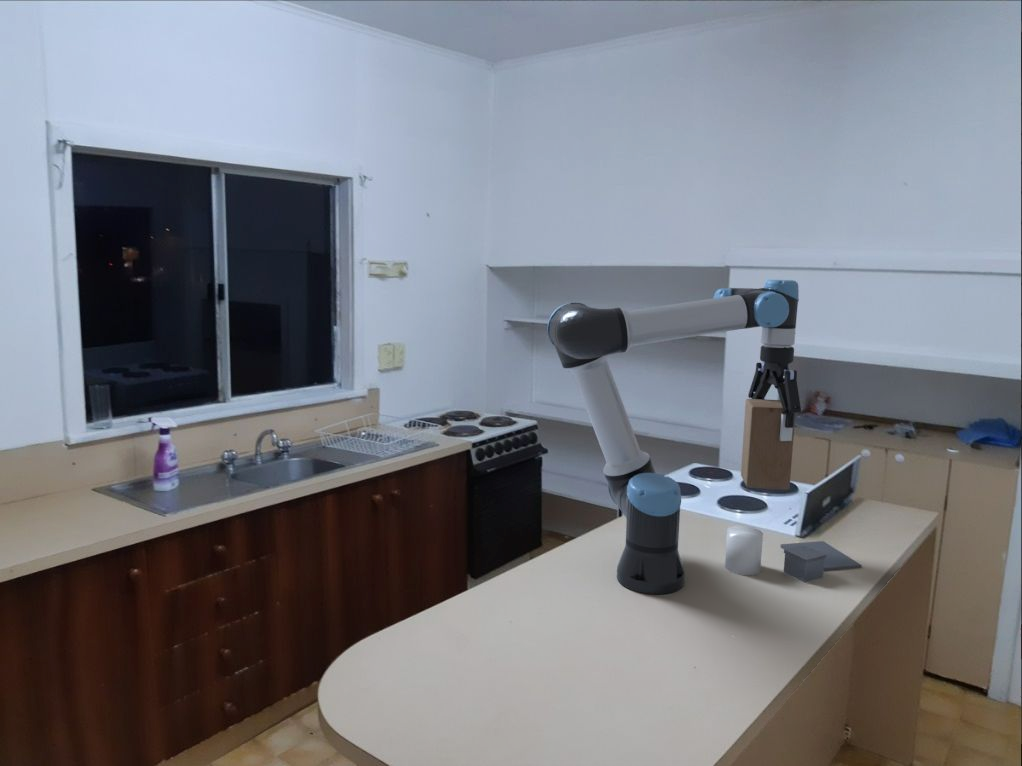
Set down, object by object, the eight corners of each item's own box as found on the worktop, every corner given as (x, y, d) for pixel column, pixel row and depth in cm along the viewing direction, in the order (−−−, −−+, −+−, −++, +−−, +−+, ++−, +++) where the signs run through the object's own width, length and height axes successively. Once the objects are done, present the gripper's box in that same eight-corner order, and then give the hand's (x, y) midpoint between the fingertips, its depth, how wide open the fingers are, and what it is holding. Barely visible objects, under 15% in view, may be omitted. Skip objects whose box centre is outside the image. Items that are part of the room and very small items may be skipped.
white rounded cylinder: (735, 576, 170) (737, 539, 168) (718, 562, 177) (721, 526, 176) (767, 573, 171) (769, 537, 170) (749, 559, 179) (751, 524, 177)
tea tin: (804, 583, 167) (806, 559, 166) (782, 572, 172) (784, 549, 171) (824, 577, 170) (826, 554, 169) (801, 567, 175) (803, 544, 174)
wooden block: (789, 490, 175) (796, 408, 172) (746, 488, 177) (751, 406, 174) (781, 478, 185) (787, 400, 182) (740, 475, 187) (745, 398, 183)
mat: (816, 571, 173) (816, 568, 173) (780, 546, 187) (780, 544, 187) (861, 567, 175) (861, 564, 175) (822, 543, 190) (823, 540, 189)
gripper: (822, 351, 164) (814, 446, 168) (764, 339, 187) (759, 422, 191) (792, 352, 163) (784, 447, 166) (737, 339, 186) (732, 423, 190)
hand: (771, 434), depth 179 cm, fingers closed on wooden block, 12 cm apart
